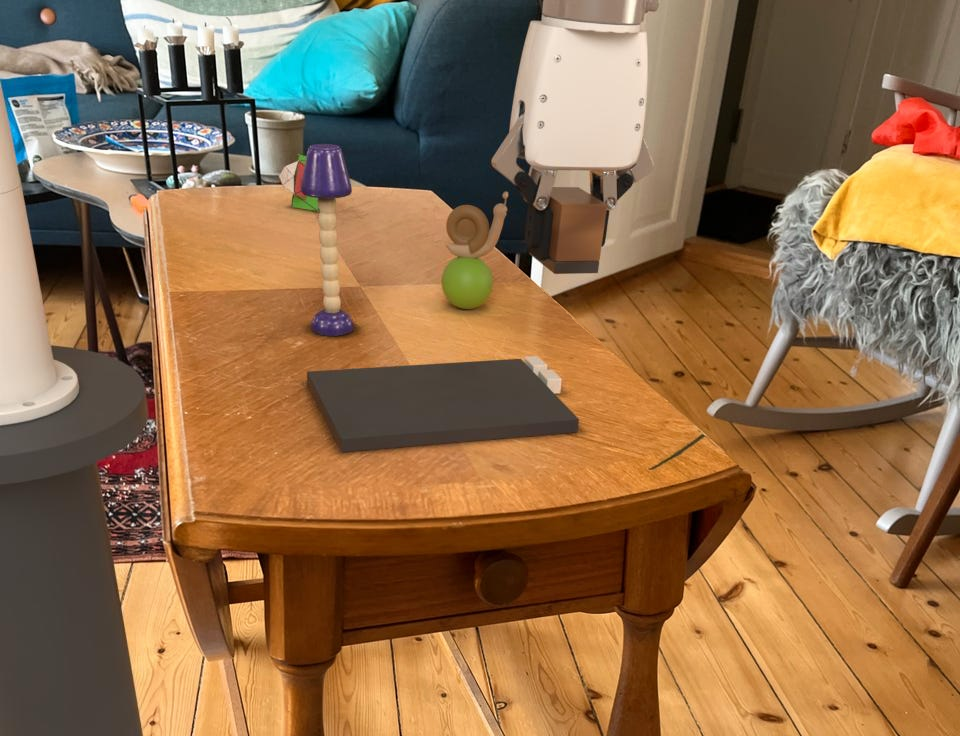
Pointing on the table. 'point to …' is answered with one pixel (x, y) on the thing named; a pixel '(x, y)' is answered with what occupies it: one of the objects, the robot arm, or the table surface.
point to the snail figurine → (471, 254)
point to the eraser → (575, 231)
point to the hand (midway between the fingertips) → (563, 253)
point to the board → (437, 404)
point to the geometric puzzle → (297, 184)
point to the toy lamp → (328, 230)
